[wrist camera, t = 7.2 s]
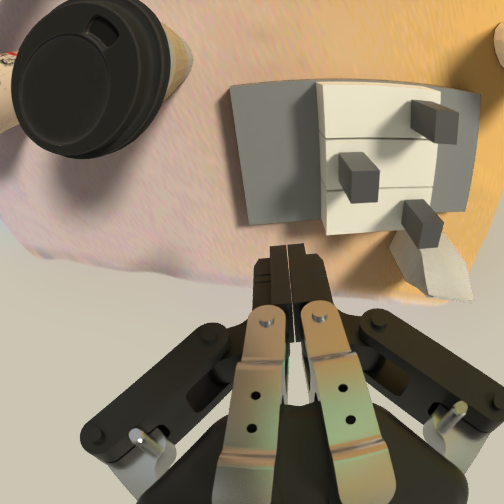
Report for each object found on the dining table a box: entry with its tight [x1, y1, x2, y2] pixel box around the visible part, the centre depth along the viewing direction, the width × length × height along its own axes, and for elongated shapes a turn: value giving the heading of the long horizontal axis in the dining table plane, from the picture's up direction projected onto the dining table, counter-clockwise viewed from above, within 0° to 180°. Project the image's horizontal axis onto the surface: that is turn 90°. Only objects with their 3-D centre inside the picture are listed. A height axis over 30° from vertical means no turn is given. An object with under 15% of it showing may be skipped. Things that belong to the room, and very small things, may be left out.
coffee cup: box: [11, 0, 193, 159], centre depth 16 cm, size 9×9×15 cm
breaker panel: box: [230, 79, 481, 249], centre depth 23 cm, size 13×24×9 cm, turn 97°
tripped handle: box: [338, 152, 380, 204], centre depth 21 cm, size 2×2×4 cm
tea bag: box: [389, 230, 474, 303], centre depth 29 cm, size 4×7×10 cm, turn 80°
